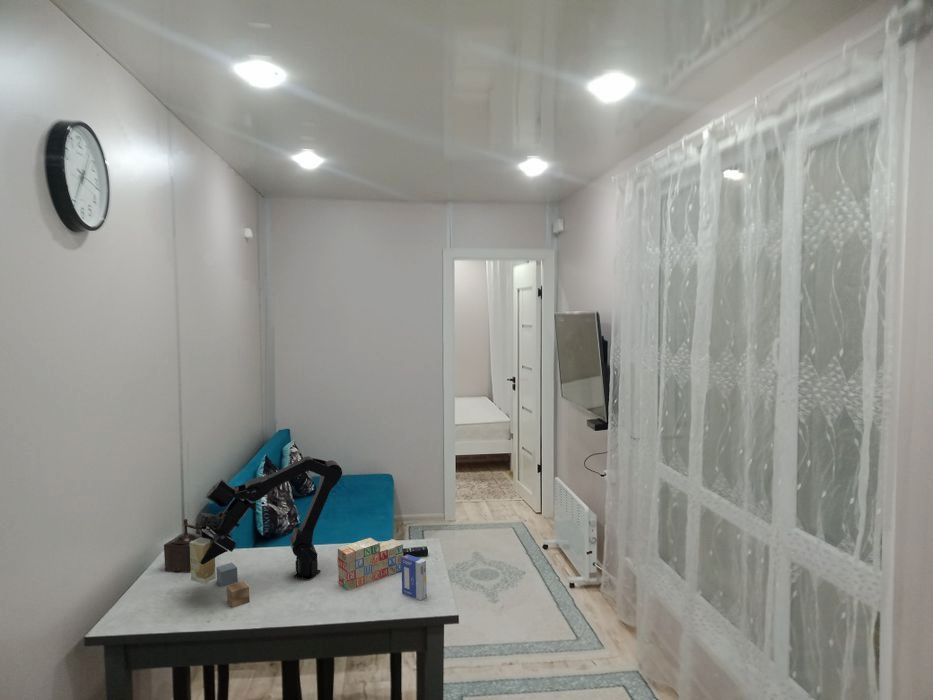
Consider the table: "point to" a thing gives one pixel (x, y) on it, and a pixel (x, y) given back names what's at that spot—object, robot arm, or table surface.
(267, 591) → the table surface
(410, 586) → the walkman
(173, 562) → the manual coffee grinder
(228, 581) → the slate cube
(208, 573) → the skincare box
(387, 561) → the stack of blocks
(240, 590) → the walnut cube
